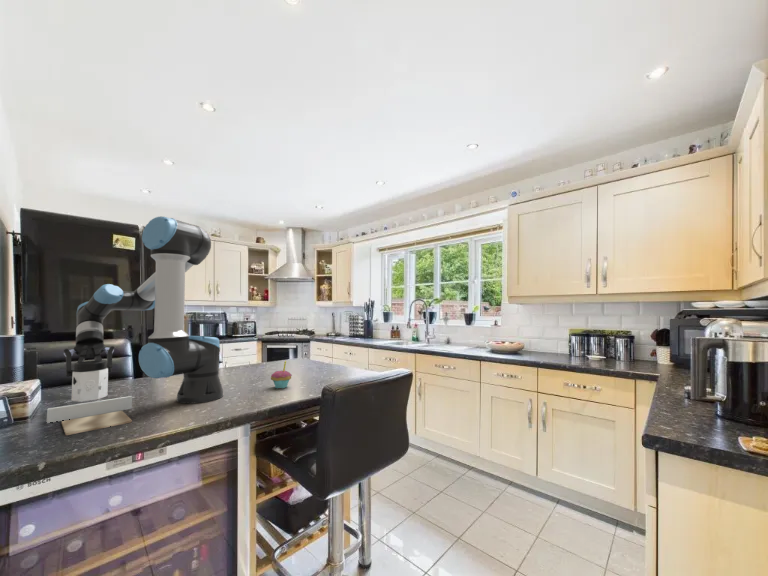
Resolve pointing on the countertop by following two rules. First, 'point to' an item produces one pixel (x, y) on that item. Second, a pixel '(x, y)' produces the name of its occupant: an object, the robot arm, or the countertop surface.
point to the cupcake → (281, 378)
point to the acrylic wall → (88, 409)
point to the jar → (90, 380)
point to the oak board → (95, 422)
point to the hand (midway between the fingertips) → (89, 389)
